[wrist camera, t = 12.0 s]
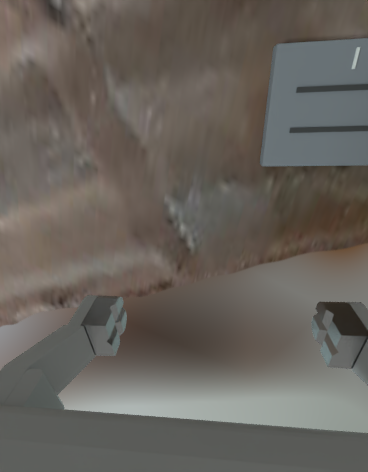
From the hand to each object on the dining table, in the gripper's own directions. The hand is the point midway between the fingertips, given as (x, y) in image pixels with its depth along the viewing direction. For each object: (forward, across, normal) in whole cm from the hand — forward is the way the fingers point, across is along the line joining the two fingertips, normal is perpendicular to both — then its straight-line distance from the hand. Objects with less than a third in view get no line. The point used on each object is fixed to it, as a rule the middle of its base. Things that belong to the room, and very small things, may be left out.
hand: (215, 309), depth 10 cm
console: (+30, -23, -6) cm, 38 cm away
